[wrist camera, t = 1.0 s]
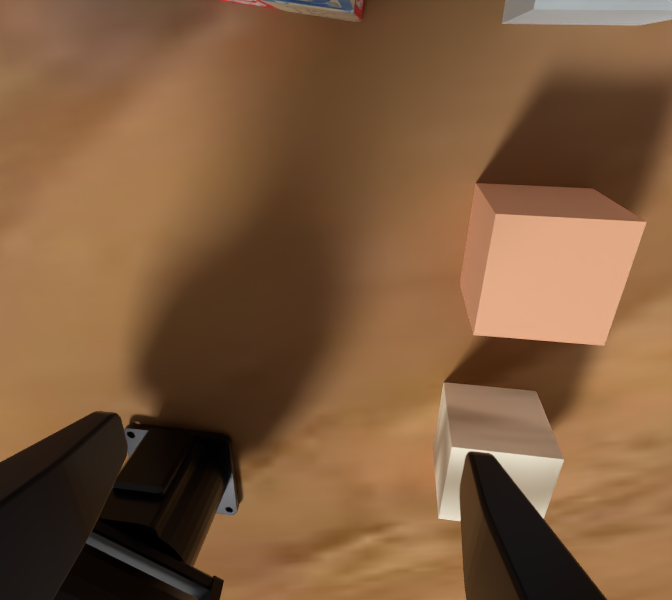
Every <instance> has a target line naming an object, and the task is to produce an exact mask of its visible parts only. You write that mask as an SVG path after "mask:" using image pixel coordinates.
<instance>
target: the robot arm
mask: <svg viewBox="0 0 672 600" xmlns="http://www.w3.org/2000/svg"><path fill="white" fill-rule="evenodd" d="M221 442H222V443H221ZM127 451H128V455H129V459H128V460H127V462H126V463H125V464H124V466H123V467H122V465H123V463H124V461H125V458H126V456H127ZM121 467H122V469H121ZM238 507H239V502H238V493H237V485H236V476H235V467H234V459H233V450H232V441H231V439H230V438H229V437H228V436H227V435H224V434H218V433H210V432H201V431H192V430H183V429H174V428H166V427H157V426H148V425H139V424H129V425H127V427H126V428H125V429H123V425H122V421H121V418H120V416H119V415H118V414H116V413H112V412H103V411H96V412H93V413H91V414H89V415H87V416H86V417H84V418H82V419H80V420H78V421H76V422H74V423H73V424H71V425H69V426H67V427H65V428H63V429H61V430H60V431H58V432H56V433H54V434H52V435H50V436H48V437H47V438H45V439H43V440H41V441H39V442H37V443H35V444H34V445H32V446H30V447H28V448H26V449H24V450H22V451H21V452H19V453H17V454H15V455H13V456H11V457H9V458H8V459H6V460H4V461H2V462H0V600H220V595H221V591H222V587H223V582H224V580H222V579H220V578H218V577H216V576H213V577H212V576H210V575H208V574H206V573H204V572H202V571H200V570H198V569H196V568H194V567H193V566H194V564H195V561H196V559H197V557H198V554H199V552H200V550H201V547H202V545H203V543H204V540H205V538H206V535H207V533H208V531H209V528H210V526H211V524H212V521H213V519H214V516H215V514H216V513H218V514H225V515H234V514H236V513H237V510H238ZM460 515H461V533H462V552H463V570H464V583H465V592H466V599H467V600H607V599H606V597H605V596H604V595H603V594H602V592H601V591H600V590H599V589H598V587H597V586H596V585H595V584H594V582H593V581H592V580H591V578H590V577H589V576H588V575H587V573H586V572H585V571H584V570H583V568H582V567H581V566H580V564H579V563H578V562H577V561H576V559H575V558H574V557H573V556H572V554H571V553H570V552H569V551H568V549H567V548H566V547H565V545H564V544H563V543H562V542H561V540H560V539H559V538H558V537H557V535H556V534H555V533H554V532H553V530H552V529H551V528H550V526H549V525H548V524H547V523H546V521H545V520H544V519H543V518H542V516H541V515H540V514H539V512H538V511H537V510H536V509H535V507H534V506H533V505H532V504H531V502H530V501H529V500H528V499H527V497H526V496H525V495H524V493H523V492H522V491H521V490H520V488H519V487H518V486H517V485H516V483H515V482H514V481H513V480H512V478H511V477H510V476H509V474H508V473H507V472H506V471H505V469H504V468H503V467H502V466H501V464H500V463H499V462H498V461H497V459H496V458H495V457H494V456H493V455H492V454H490V453H483V452H474V451H470V452H468V453H467V455H466V458H465V462H464V467H463V472H462V477H461V482H460Z"/></svg>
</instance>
